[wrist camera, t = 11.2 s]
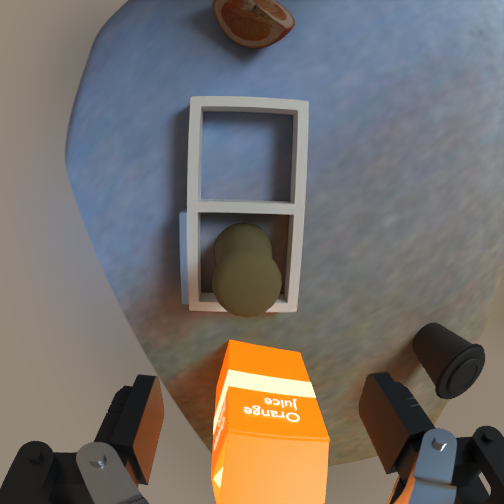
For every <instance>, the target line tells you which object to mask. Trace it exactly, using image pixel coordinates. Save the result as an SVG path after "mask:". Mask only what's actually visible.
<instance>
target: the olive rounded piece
mask: <svg viewBox="0 0 504 504" xmlns="http://www.w3.org/2000/svg"><path fill="white" fill-rule="evenodd" d="M214 253H215V260H216V264H217V266H216V267H215V269H214V272H213V278H212V288H213V293H214V295H215V297H216V299H217V301H218V303H219V304H220V305H221V306H222V307H223V308H224V309H225V310H226V311H228V312H230V313H232V314H234V315H237V316H243V317H250V316H257V315H259V314H261V313H264V312H266V311H267V310H268V309H269V308H271V307H272V306H273V305H274V303H275V302H276V300H277V299H278V297H279V294H280V290H281V286H282V280H281V273H280V271H279V269H278V266H277V264H276V262H275V261H274V260H273V259H272V244H271V241H270V239H269V237H268V235H267V234H266V233H265V232H264V231H263V230H262V229H261V228H259V227H257V226H256V225H254V224H249V223H237V224H234V225H232V226H229V227H227V228H226V229H225V230H224V231H223V232H222V233H221V234H220V235H219V237H218V239H217V240H216V243H215V249H214Z"/></svg>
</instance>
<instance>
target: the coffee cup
mask: <svg viewBox="0 0 504 504" xmlns="http://www.w3.org/2000/svg"><path fill="white" fill-rule="evenodd" d="M413 350H414V353H415V354H416V356H417V357H418V359H419V361H420V362H421V364H422V365H423V367H424V368H425V370H426V372H427V373H428V375H429V376H430V378H431V380H432V381H433V383H434V385H435V386H436V388H435V391H436V394H437V396H439V397H440V398H443V399H452V398H455V397H457V396H459V395H460V394H462V393H464V392H465V391H466V390H467V389H468V388H469V387H471V385H472V384H473V383H474V382H475V381H476V379H477V378H478V376H479V375H480V373H481V371H482V369H483V366H484V362H485V353H484V349H483V347H482V346H481V345H479V344H471V343H470V342H468V341H467V340H465V339H463V338H462V337H460V336H458V335H457V334H455V333H453V332H452V331H450V330H448V329H447V328H445V327H443V326H441V325H440V324H438V323H430V324H427V325H425V326H424V327H423V328H422V329H421V330H420V331H419V332H418V333H417V335H416V337H415V338H414V341H413Z"/></svg>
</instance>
